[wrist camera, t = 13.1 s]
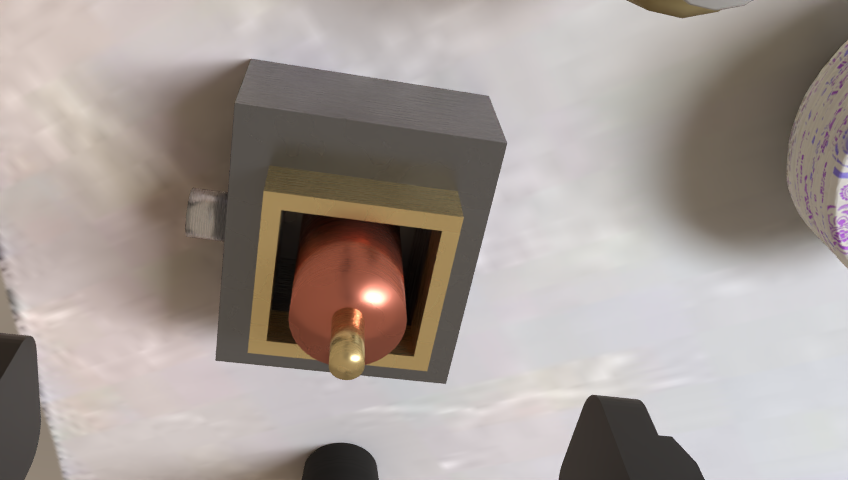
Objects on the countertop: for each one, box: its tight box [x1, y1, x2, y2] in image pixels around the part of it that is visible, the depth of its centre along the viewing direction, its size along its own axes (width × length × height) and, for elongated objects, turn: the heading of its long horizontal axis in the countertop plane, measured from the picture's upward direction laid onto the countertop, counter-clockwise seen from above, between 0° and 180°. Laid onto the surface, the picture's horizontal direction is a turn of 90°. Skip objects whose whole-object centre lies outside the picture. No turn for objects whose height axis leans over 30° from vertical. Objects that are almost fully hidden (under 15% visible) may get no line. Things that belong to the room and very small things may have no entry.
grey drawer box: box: [185, 59, 507, 384], centre depth 40 cm, size 14×14×8 cm
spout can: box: [289, 213, 407, 380], centre depth 38 cm, size 5×5×13 cm
